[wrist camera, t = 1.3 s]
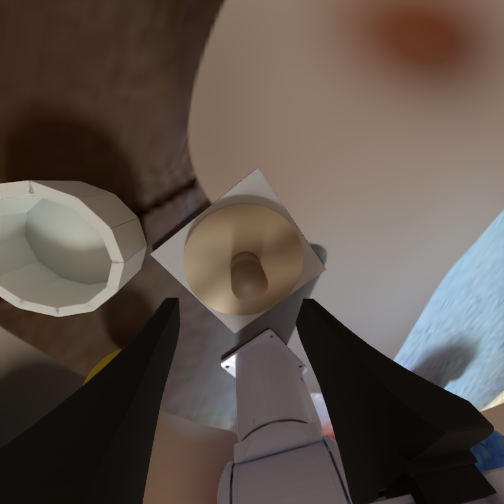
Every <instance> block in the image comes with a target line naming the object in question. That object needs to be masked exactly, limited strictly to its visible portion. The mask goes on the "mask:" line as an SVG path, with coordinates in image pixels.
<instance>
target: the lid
mask: <svg viewBox="0 0 504 504" xmlns="http://www.w3.org/2000/svg"><path fill="white" fill-rule="evenodd" d="M302 266H303V249H302V245H301V241H300V239H299V236H298V234H297V233H296V231H295V229H294V228H293V227H292V225H291V224H290V223H289V222H288V221H287V220H286V219H285V218H284V217H282V216H281V215H280V214H278V213H277V212H275V211H273V210H271V209H269V208H267V207H264V206H261V205H256V204H247V203H243V204H234V205H229V206H226V207H223V208H220V209H218V210H216V211H214V212H212V213H211V214H209V215H208V216H206V217H205V218H204V219H203V220H202V221H201V222H200V223H199V224H198V225H197V227H196V228H195V229H194V230H193V232H192V234H191V235H190V237H189V239H188V241H187V244H186V247H185V251H184V257H183V268H184V273H185V277H186V280H187V283H188V284H189V286H190V288H191V290H192V291H193V293H194V294H195V295H196V296H197V297H198V298H199V300H201V301H202V302H203V303H204V304H205V305H207V306H209V307H210V308H212V309H214V310H216V311H219V312H222V313H225V314H230V315H238V316H242V315H253V314H257V313H261V312H264V311H266V310H268V309H270V308H272V307H274V306H276V305H277V304H279V303H280V302H281V301H283V300H284V299H285V298H286V297H287V296H288V295H289V294H290V292H291V291H292V290H293V289H294V287H295V285H296V284H297V282H298V280H299V277H300V275H301V271H302Z"/></svg>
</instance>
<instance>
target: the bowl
mask: <svg viewBox="0 0 504 504" xmlns="http://www.w3.org/2000/svg"><path fill="white" fill-rule="evenodd" d="M146 248H147V242H146V239H145V236H144V233H143V230H142V227H141V224H140V221H139V218H138V217H137V216H136V215H135V214H134V213H133V212H132V211H131V210H130V209H129V208H128V207H127V206H126V205H125V204H124V203H123V202H122V201H121V200H120V199H119V198H118V197H117V196H116V195H115V194H113V193H111V192H108V191H105V190H103V189H100V188H97V187H95V186H92V185H89V184H87V183H84V182H81V181H32V180H28V181H20V182H11V183H2V184H0V297H2V298H3V299H5V300H6V301H8V302H10V303H11V304H13V305H14V306H16V307H19V308H21V309H25V310H30V311H34V312H39V313H43V314H48V315H52V316H57V317H58V316H59V317H60V316H66V315H72V314H78V313H84V312H90V311H94V310H95V309H97V308H98V307H99V306H100V305H102V304H103V303H104V302H105V301H107V300H108V299H109V298H110V297H112V296H113V295H114V294H115V293H117V292H118V291H119V290H120V289H121V288H122V287H123V286H124V285H125V284H126V283H127V282H128V281H129V280H130V279H131V278H132V277H133V276H134V275H135V274H136V273H137V272H138V271H139V270H140V269H141V266H142V263H143V259H144V255H145V252H146Z"/></svg>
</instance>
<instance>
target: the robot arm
mask: <svg viewBox="0 0 504 504" xmlns="http://www.w3.org/2000/svg"><path fill="white" fill-rule="evenodd" d="M296 327H297V330H298V334H299V337H300V340H301V343H302V345H303V347H304V350H305V352H306V354H307V357H308V359H309V361H310V364H311V366H312V368H313V371H314V373H315V375H316V378H317V380H318V383H319V385H320V388H321V392H322V395H323V398H324V401H325V404H326V407H327V410H328V414H329V417H330V420H331V424H332V427H333V431H334V434H335V438H336V441H334V440H333V439H332V438H331V437H330V436H329V435H325V436H322V427H321V422H320V419H319V416H318V413H317V411H316V408H315V406H314V403H313V401H312V398H311V396H310V393H309V391H308V388H307V385H306V383H305V380H304V378H303V375H302V374H304V373H306V372H307V367H306V366H305V365H304V364H303V363H302V362H301V361H300V359H299V358H298V357H297V356H296V355H295V354H294V353H293V352H292V351H291V350H290V349H289V348H288V347H287V346H286V345H285V344H284V343H283V341H282V340H281V339H280V338H279V337H278V336H277V335H276V334H275V333H274V332H273V331H272V330H271V329H268V330H266V331H264V332H263V333H261V334H260V335H258V336H257V337H256V338H254V339H253V340H251V341H250V342H248V343H247V344H245V345H244V346H242V347H241V348H239V349H238V350H237V351H235V352H234V353H232V354H231V355H229V356H228V357H226V358H225V359H223V360H222V361H221V366H222V367H223V368H224V369H225V370H227V371H228V372H229V373H230V374H231V375H233V376H234V377H235V378H236V398H237V421H238V443H237V444H235V445H234V461H231V462H228V463H227V465H226V467H225V470H224V472H223V474H222V476H221V479H220V483H219V489H218V498H217V504H504V467H501V468H497V469H493V470H489V471H486V472H483V473H481V472H480V471H479V469H478V468H477V467H476V466H475V464H474V463H477V462H478V461H477V458H476V457H475V456H474V455H473V453H472V452H471V451H470V450H469V449H470V448H472V447H473V446H475V445H477V444H478V443H480V442H481V441H483V440H484V439H486V438H487V437H489V436H490V435H491V434H492V433H493V431H494V427H493V425H492V424H491V423H490V422H489V421H488V420H487V419H486V418H485V417H484V416H483V415H482V414H481V413H480V412H479V411H478V410H477V409H476V408H475V407H474V406H473V405H472V404H471V403H470V402H469V401H467V400H465V399H463V398H461V397H459V396H457V395H455V394H453V393H451V392H449V391H447V390H445V389H443V388H441V387H439V386H437V385H435V384H433V383H431V382H429V381H427V380H425V379H424V378H422V377H420V376H418V375H416V374H414V373H413V372H411V371H409V370H407V369H406V368H404V367H402V366H401V365H399V364H398V363H396V362H394V361H393V360H391V359H389V358H388V357H386V356H385V355H383V354H382V353H380V352H379V351H377V350H376V349H375V348H373V347H372V346H370V345H369V344H367V343H366V342H365V341H363V340H362V339H361V338H359V337H358V336H357V335H355V334H354V333H353V332H352V331H350V330H349V329H348V328H347V327H345V326H344V325H343V324H342V323H341V322H339V321H338V320H337V319H336V318H335V317H334V316H333V315H331V314H330V313H329V312H328V311H327V310H326V309H325V308H323V307H322V306H321V305H320V304H319V303H318V302H316V301H315V300H314V299H303V302H302V305H301V308H300V311H299V314H298V317H297V320H296ZM179 328H180V313H179V298H166V299H165V300H164V301H163V302H162V304H161V305H160V306H159V308H158V309H157V310H156V312H155V313H154V314H153V315H152V317H151V318H150V319H149V320H148V322H147V323H146V324H145V325H144V326H143V327H142V329H141V330H140V331H139V332H138V333H137V334H136V335H135V336H134V337H133V339H132V340H131V341H130V342H129V343H128V344H127V345H126V346H125V347H124V348H123V349H122V350H121V351H120V352H119V353H118V354H117V355H116V356H115V357H114V358H113V359H112V360H111V361H110V362H109V363H108V364H107V365H105V366H104V367H103V368H102V369H101V370H100V371H99V372H98V373H97V374H95V375H94V376H93V377H92V378H91V379H90V380H89V381H87V382H86V383H85V384H84V385H83V386H82V387H81V388H79V389H78V390H77V391H76V392H74V393H73V394H72V395H71V396H69V397H68V398H67V399H66V400H64V401H63V402H62V403H60V404H59V405H58V406H57V407H55V408H54V409H53V410H52V411H50V412H49V413H48V414H46V415H45V416H44V417H43V418H41V419H40V420H39V421H37V422H36V423H35V424H33V425H32V426H31V427H29V428H28V429H27V430H25V431H24V432H22V433H21V434H20V435H18V436H17V437H15V438H14V439H13V440H11V441H10V442H9V443H7V444H6V445H4V446H3V447H2V448H0V504H142V503H143V497H144V491H145V485H146V480H147V474H148V468H149V463H150V457H151V451H152V446H153V441H154V435H155V430H156V425H157V420H158V414H159V409H160V404H161V400H162V395H163V391H164V388H165V384H166V381H167V377H168V374H169V370H170V367H171V363H172V360H173V356H174V352H175V349H176V345H177V340H178V334H179ZM271 335H272V336H271ZM227 365H228V366H227Z"/></svg>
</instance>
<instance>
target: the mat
mask: <svg viewBox="0 0 504 504" xmlns="http://www.w3.org/2000/svg"><path fill="white" fill-rule="evenodd" d="M243 203H247V204H256V205H261V206H264V207H267V208H269V209H271V210H273V211H275V212H277V213H278V214H280V215H281V216H282V217H284V218H285V219H286V220H287V221H288V222H289V223H290V224H291V225H292V227H293V228H294V229H295V231H296V233H297V234H298V236H299V239H300V241H301V245H302V249H303V266H302V271H301V275H300V277H299V280H298V282H297V284H296V285H295V287H294V289H293V290H292V291H291V292H290V294H289V295H291V294H292V293H294V292H295V291H296V290H298V289H299V288H301V287H302V286H304V285H305V284H306V283H308V282H309V281H311V280H312V279H314V278H315V277H316V276H318V275H319V274H321V273H322V272H324V271H325V270H326V269H325V267H324V266H323V264H322V263H321V261H320V260H319V258H318V257H317V255H316V254H315V252H314V251H313V249H312V248H311V246H310V245H309V243H308V241H307V240H306V238H305V237H304V235H303V234H302V233H301V231H300V229H299V228H298V227H297V225H296V223H295V222H294V220H293V219H292V217H291V216H290V215H289V213H288V211H287V210H286V208H285V207H284V205H283V204H282V202H281V201H280V199H279V198H278V196H277V195H276V193H275V192H274V190H273V189H272V187H271V186H270V185H269V183H268V181H267V180H266V178H265V177H264V175H263V174H262V172H261V171H260V169H259V168H257V169H255V170H254V171H253V172H252V173H250V174H249V175H248V176H247V177H245V178H244V179H243V180H242V181H241V182H239V183H238V184H237V185H235V186H234V187H233V188H232V189H231V190H229V191H228V192H227V193H226V194H224V195H223V196H222V197H221V198H219V199H218V200H217V201H216V202H214V203H213V204H212V205H211V206H209V207H208V208H207V209H206V210H205V211H203V212H202V213H201V214H200V215H198V216H197V217H196V218H195V219H193V220H192V221H191V222H190V223H188V224H187V225H186V226H185V227H183V228H182V229H181V230H180V231H179V232H177V233H176V234H175V235H174V236H172V237H171V238H170V239H169V240H167V241H166V242H165V243H164V244H162V245H161V246H160V247H159V248H157V249H156V250H155V251H154V252H153V253H151V255H152V256H153V257H154V258H155V259H156V260H157V261H158V262H159V263H160V264H161V265H162V266H163V267H164V268H165V269H167V270H168V271H169V272H170V273H171V274H172V275H173V276H174V277H175V278H176V279H177V280H178V281H179V282H180V283H181V284H183V285H184V286H185V287H186V288H187V289H188V290H189V291H190V292H191V293H192V294H193V295H194V296H195V297H196V298H197V299H198V300H199V298H198V297H197V296H196V295H195V294H194V293H193V291H192V290H191V288H190V286H189V284H188V283H187V280H186V277H185V273H184V268H183V257H184V251H185V247H186V244H187V241H188V239H189V237H190V235H191V234H192V232H193V230H194V229H195V228H196V227H197V225H198V224H199V223H200V222H201V221H202V220H203V219H204V218H205V217H206V216H208V215H209V214H211V213H212V212H214V211H216V210H218V209H220V208H223V207H226V206H229V205H234V204H243ZM289 295H288V296H289ZM288 296H287V297H288ZM200 301H201V300H200ZM201 302H202V301H201ZM202 303H203V302H202ZM203 304H204V303H203ZM204 305H205V304H204ZM205 306H206V307H207V308H208V309H209V310H210V311H211V312H212V313H213V314H214V315H216V316H217V317H218V318H219V319H220V320H221V321H222V322H223V323H224V324H225V325H226V326H227V327H228V328H229V329H230V330H231V331H233V332H234V333H236V332H238V331H239V330H241V329H242V328H243V327H245V326H246V325H248V324H249V323H251V322H252V321H253V320H255V319H256V318H258V317H259V316H261V315H262V314H264V313H265V312H266V311H268V310H269V309H268V310H266V311H264V312H261V313H257V314H253V315H242V316H238V315H230V314H225V313H222V312H219V311H216V310H214V309H212V308H210V307H209V306H207V305H205ZM270 309H271V308H270Z"/></svg>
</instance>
